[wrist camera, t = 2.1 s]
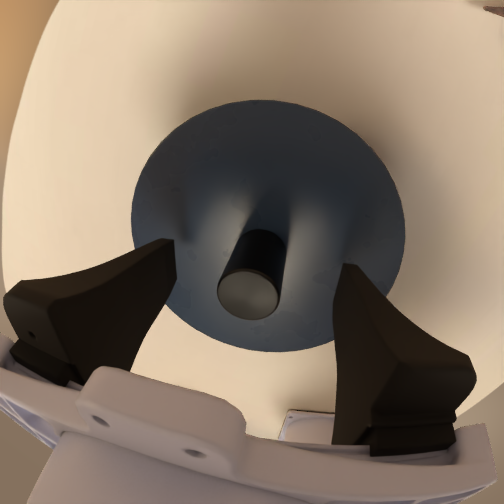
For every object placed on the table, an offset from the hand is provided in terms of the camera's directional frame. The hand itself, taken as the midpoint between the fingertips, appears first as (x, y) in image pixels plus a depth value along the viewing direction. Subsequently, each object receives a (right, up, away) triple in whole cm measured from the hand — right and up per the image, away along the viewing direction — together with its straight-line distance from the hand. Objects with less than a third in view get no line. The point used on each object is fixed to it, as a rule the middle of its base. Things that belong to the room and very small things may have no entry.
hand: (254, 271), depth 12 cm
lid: (0, +1, +2) cm, 2 cm away
